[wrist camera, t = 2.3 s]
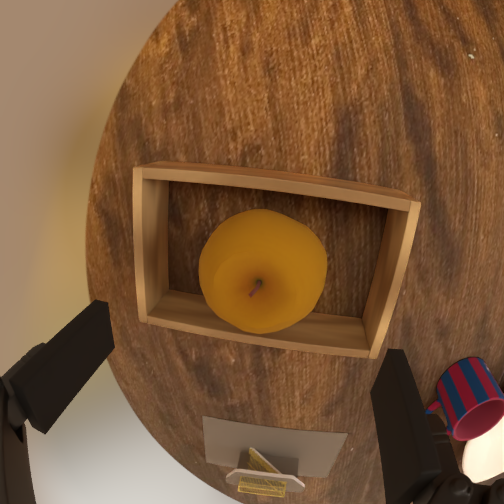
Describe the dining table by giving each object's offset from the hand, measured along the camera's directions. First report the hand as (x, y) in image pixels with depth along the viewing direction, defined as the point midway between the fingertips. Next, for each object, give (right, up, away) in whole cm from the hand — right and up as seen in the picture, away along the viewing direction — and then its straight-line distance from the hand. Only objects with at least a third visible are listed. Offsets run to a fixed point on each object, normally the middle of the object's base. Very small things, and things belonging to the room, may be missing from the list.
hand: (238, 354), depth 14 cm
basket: (+2, +5, +13) cm, 14 cm away
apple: (+2, +5, +13) cm, 14 cm away
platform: (+3, -22, +23) cm, 32 cm away
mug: (+23, -11, +15) cm, 30 cm away
